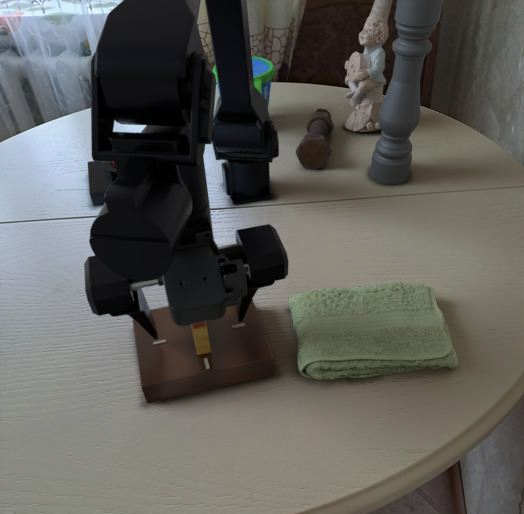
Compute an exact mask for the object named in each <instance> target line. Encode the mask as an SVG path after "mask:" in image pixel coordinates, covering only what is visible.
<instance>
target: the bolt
mask: <svg viewBox="0 0 524 514" xmlns="http://www.w3.org/2000/svg"><path fill="white" fill-rule="evenodd" d="M305 129H306V132H307V134H305V135H303V137H302V139H301V141H300V142H299V144H298V146H297V147H296V149H295V155H296V157H297V159H298V161H299V163H300V165H301V166H302V167H303V168H305V169H308V170H320V169H322V168H323V167H324V166H325V164H326V163H327V162H328V160H329V159H330V157H331V155H332V149H331V147H330V145H329V143H328V141H327V140H328V139H329V138H330V136H331V134H332V133H333V131H334V130H335V124H334V121H333V119H332V113H331V112H330V111H329V110H327V109H325V108H317V109H316V110H315V111H314V112H312V114H311V116H310V117H309V119H308V121H307V123H306V124H305Z"/></svg>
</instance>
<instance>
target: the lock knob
mask: <svg viewBox="0 0 524 514" xmlns="http://www.w3.org/2000/svg"><path fill="white" fill-rule="evenodd" d="M190 325H191V330H192V334H193V338H194V343H195V347H196V351H197V355H201V354H206V353H211V348H210V342H209V336H208V329H207V325H206V321H202V322H197V323H192V324H190Z"/></svg>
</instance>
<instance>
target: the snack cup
mask: <svg viewBox="0 0 524 514" xmlns="http://www.w3.org/2000/svg"><path fill="white" fill-rule="evenodd" d="M252 66H253V77H254V86H255V87H256V88H257V90H258V91H259V92H260V93H261V94H262V96H263V97H264V98H265V99H266V100H267V102H268V106H269V104H270V96H271V87H272V81H273V78H274V76H275V67H274V63H273V62H272V61H270V60H269V59H267V58H264V57H260V56H254V55H253V56H252ZM212 71H213V72H214V74H215V77H216V87H217V90H218V97H219V96H220V91H219V85H218V79H217V73H216V66H215V65H214V66H213V68H212Z"/></svg>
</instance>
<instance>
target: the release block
mask: <svg viewBox="0 0 524 514" xmlns="http://www.w3.org/2000/svg"><path fill="white" fill-rule="evenodd" d="M87 174H88V175H87V177H88V189H89V197H90V200H91V202H92V206H93V207H98V206H103V205H104V204H105V200H104V194H105V192H106V190H107V189H108V187H109V186H110V184H111V183H113V182H114V181H115V180H116V178H117V172H116V168H115V167H114V166H113V163H112V162H101V161H94V160H91V161H87Z"/></svg>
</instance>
